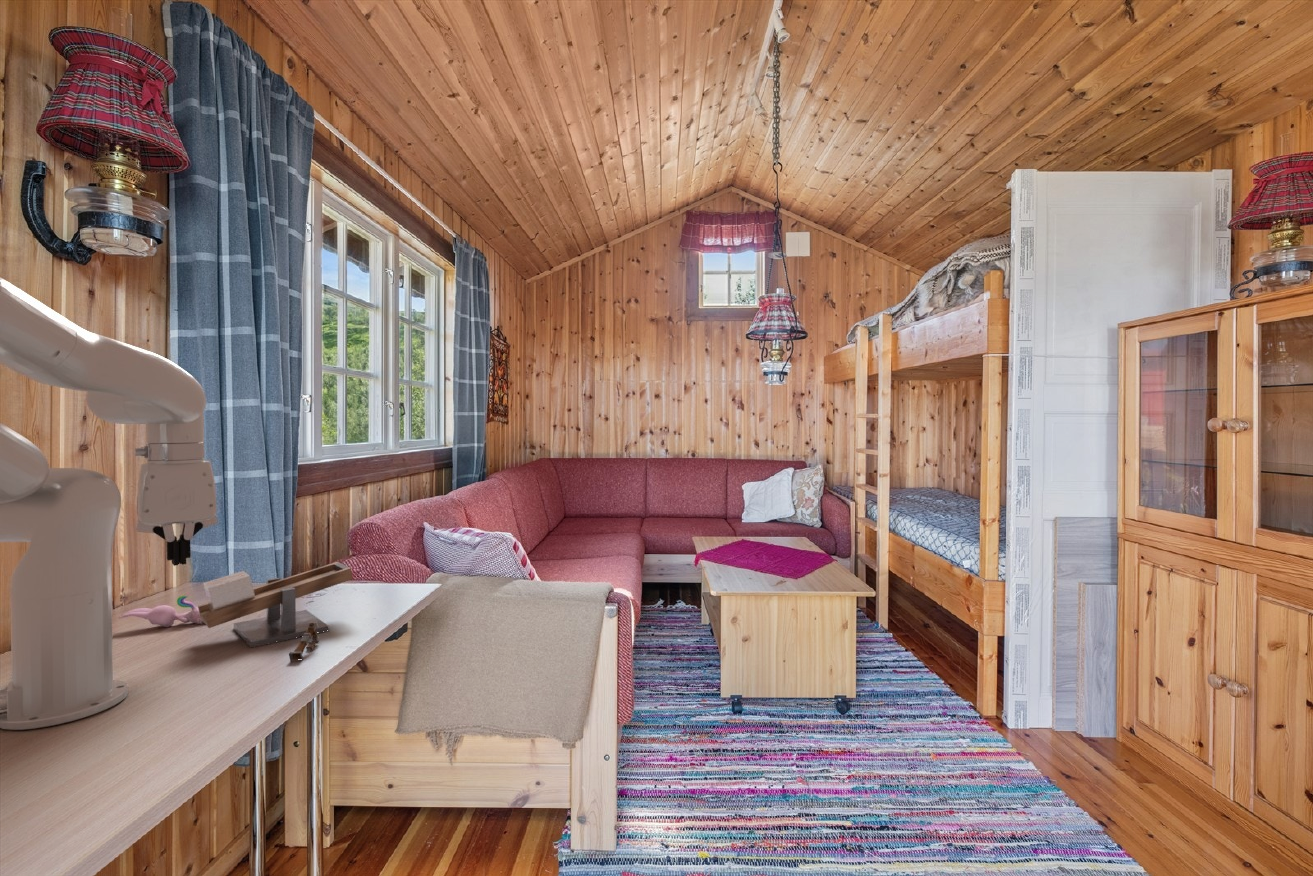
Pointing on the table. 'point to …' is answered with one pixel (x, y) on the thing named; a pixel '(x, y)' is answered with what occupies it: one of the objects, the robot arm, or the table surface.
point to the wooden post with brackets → (306, 642)
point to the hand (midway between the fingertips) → (178, 563)
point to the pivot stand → (278, 622)
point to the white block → (229, 590)
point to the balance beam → (279, 593)
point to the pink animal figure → (167, 614)
